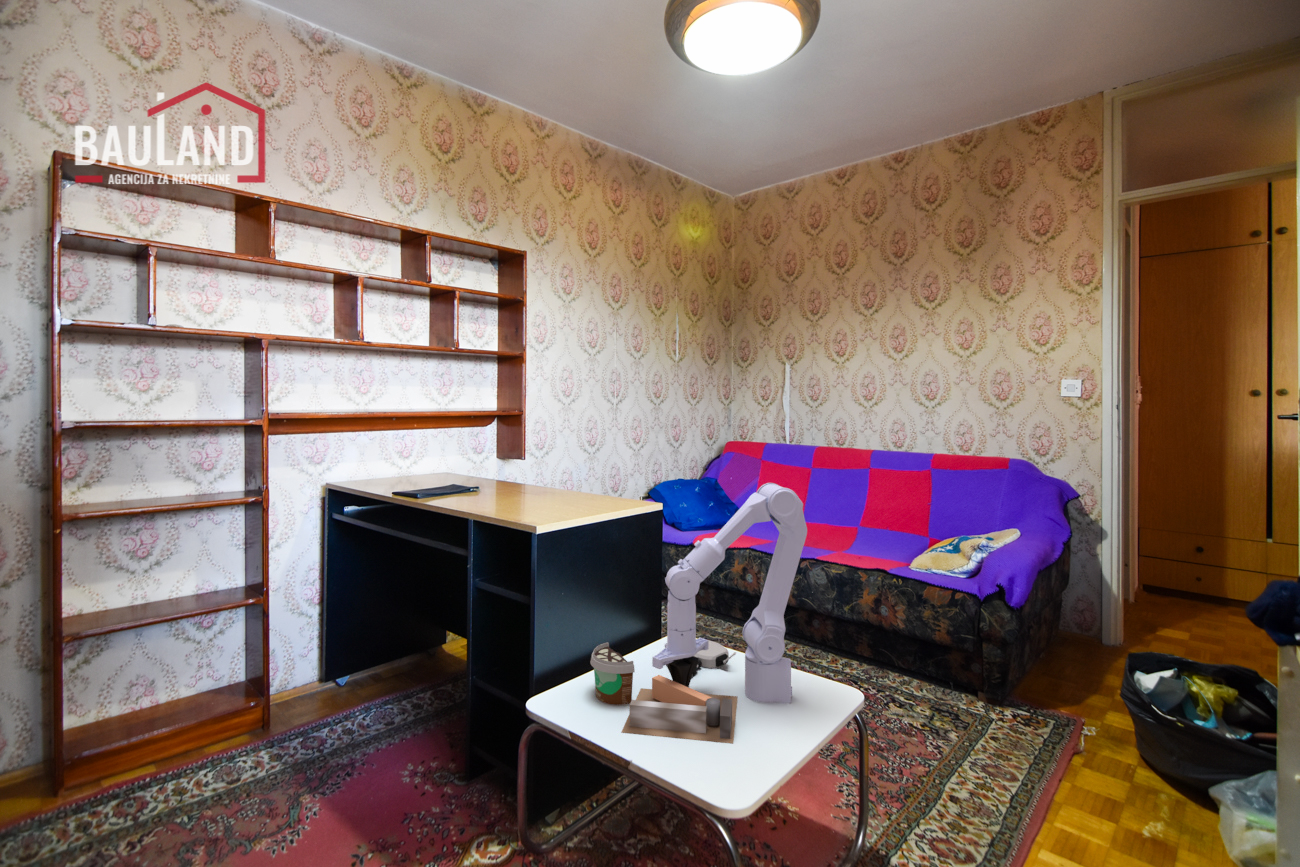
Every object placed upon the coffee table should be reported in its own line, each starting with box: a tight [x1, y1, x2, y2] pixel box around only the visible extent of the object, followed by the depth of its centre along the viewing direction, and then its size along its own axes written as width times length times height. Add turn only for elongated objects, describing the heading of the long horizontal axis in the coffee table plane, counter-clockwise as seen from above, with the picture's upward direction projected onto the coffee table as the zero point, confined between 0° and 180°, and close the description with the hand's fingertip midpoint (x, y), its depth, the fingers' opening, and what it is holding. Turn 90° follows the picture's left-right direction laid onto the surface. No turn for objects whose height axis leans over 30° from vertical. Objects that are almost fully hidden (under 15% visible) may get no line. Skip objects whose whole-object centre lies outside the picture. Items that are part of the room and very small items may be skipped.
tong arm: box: [651, 674, 720, 726], centre depth 118 cm, size 16×3×4 cm, turn 44°
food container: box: [589, 642, 636, 706], centre depth 124 cm, size 12×6×10 cm, turn 29°
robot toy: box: [692, 636, 737, 677], centre depth 141 cm, size 12×4×15 cm
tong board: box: [620, 688, 739, 745], centre depth 117 cm, size 20×18×5 cm
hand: (681, 693), depth 124 cm, fingers closed
